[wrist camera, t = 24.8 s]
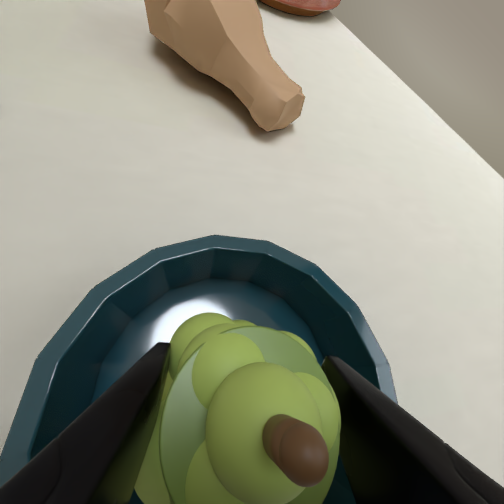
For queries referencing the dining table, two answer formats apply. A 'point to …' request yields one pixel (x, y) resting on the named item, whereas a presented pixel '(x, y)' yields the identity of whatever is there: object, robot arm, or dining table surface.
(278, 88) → the squash
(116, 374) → the teal round bowl
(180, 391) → the grapes
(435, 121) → the dining table surface
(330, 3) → the planter
